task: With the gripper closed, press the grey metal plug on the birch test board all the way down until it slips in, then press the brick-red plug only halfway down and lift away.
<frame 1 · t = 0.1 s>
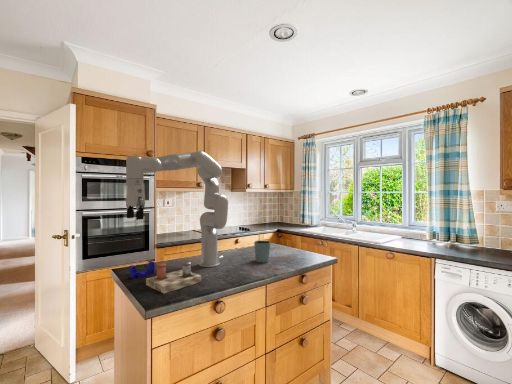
hand: (134, 218, 128), 31 cm above the countertop, tool pointing down, fingers open, 9 cm apart
red plug: (161, 271, 128), point 6 cm above the countertop, slide at 0.0 cm
drinking glass: (262, 261, 171), on the countertop
grey plug: (186, 269, 131), point 6 cm above the countertop, slide at 0.0 cm
test board: (174, 283, 130), on the countertop
cable clip: (143, 276, 142), on the countertop
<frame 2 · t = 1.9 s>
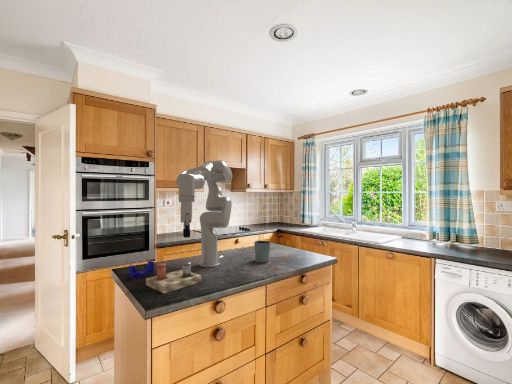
hand: (186, 236, 131), 22 cm above the countertop, tool pointing down, fingers closed
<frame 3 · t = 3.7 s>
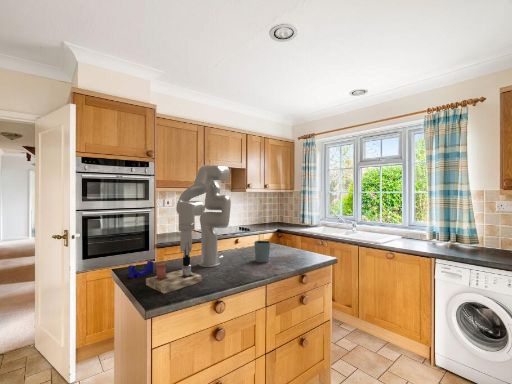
hand: (186, 265, 131), 8 cm above the countertop, tool pointing down, fingers closed
grey plug: (186, 271, 131), point 5 cm above the countertop, slide at 1.2 cm, touching gripper
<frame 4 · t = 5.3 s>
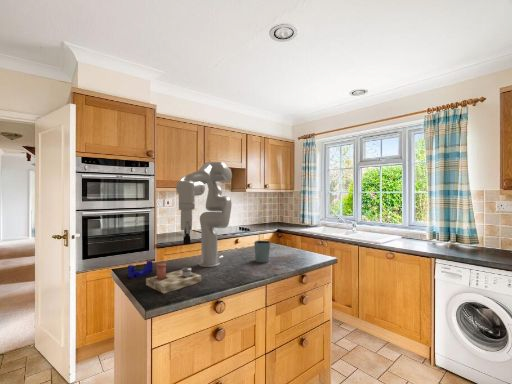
hand: (186, 244, 132), 18 cm above the countertop, tool pointing down, fingers closed
grey plug: (186, 275, 131), point 3 cm above the countertop, slide at 2.9 cm
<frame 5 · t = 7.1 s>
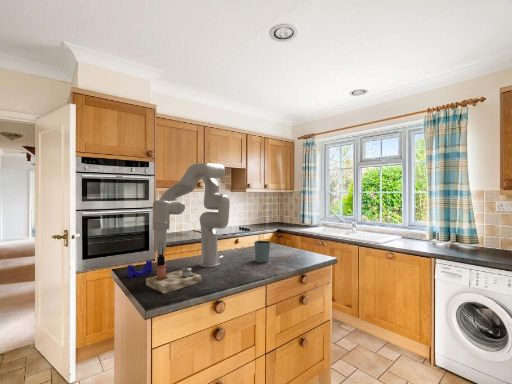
hand: (160, 265, 128), 9 cm above the countertop, tool pointing down, fingers closed
red plug: (161, 271, 128), point 6 cm above the countertop, slide at 0.2 cm, touching gripper
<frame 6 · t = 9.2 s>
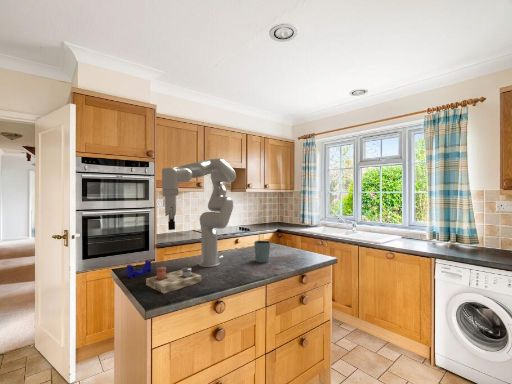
hand: (171, 229, 135), 25 cm above the countertop, tool pointing down, fingers closed
red plug: (161, 274, 128), point 5 cm above the countertop, slide at 1.7 cm
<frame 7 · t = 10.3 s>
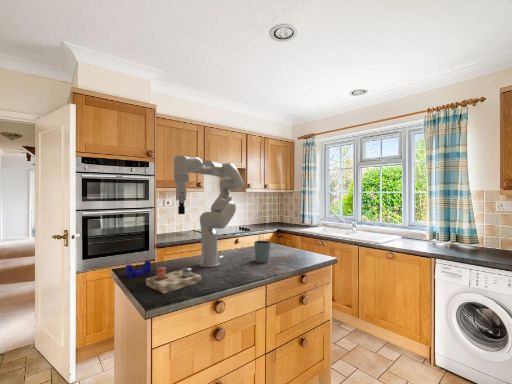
hand: (181, 214, 143), 32 cm above the countertop, tool pointing down, fingers closed
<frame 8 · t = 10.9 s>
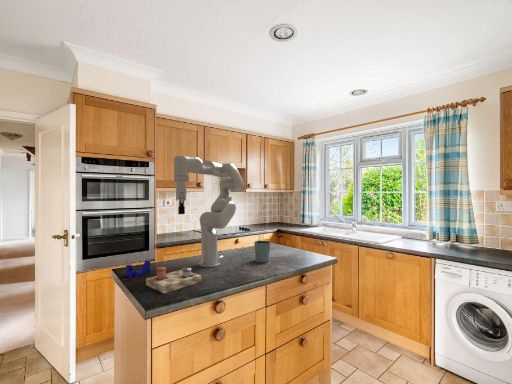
hand: (181, 214, 143), 32 cm above the countertop, tool pointing down, fingers closed
at the end: grey plug slide at 2.9 cm; red plug slide at 1.7 cm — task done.
